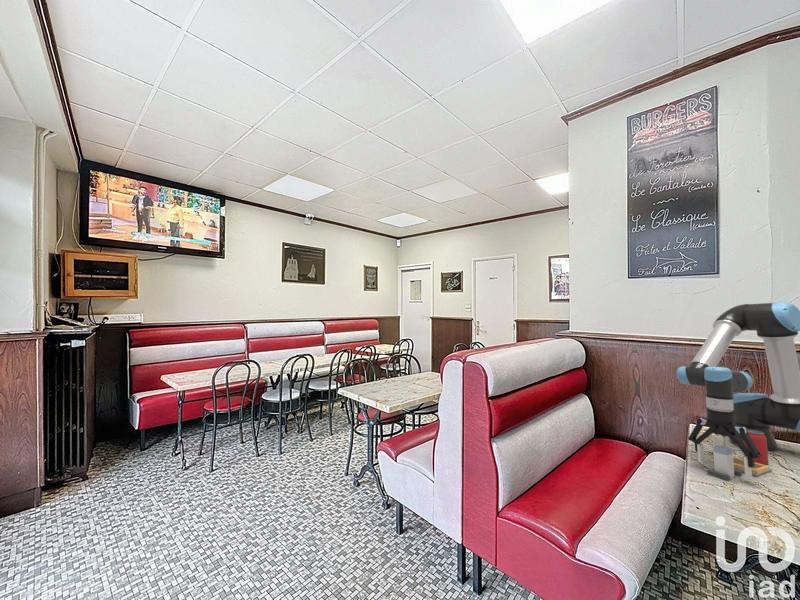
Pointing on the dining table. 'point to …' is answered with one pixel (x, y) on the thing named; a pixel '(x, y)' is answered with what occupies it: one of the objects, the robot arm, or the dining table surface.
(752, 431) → the beer can
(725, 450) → the plug
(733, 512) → the dining table surface
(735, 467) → the panel
